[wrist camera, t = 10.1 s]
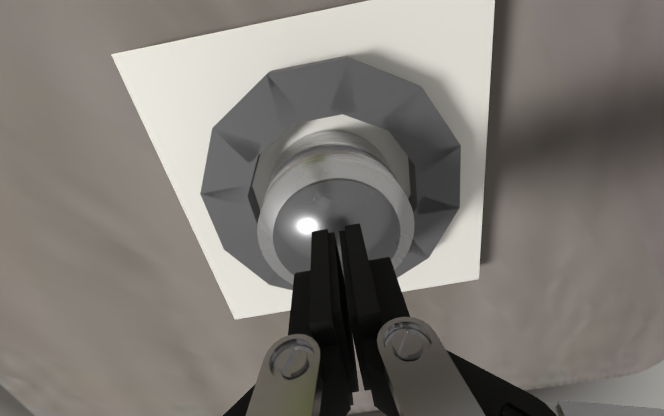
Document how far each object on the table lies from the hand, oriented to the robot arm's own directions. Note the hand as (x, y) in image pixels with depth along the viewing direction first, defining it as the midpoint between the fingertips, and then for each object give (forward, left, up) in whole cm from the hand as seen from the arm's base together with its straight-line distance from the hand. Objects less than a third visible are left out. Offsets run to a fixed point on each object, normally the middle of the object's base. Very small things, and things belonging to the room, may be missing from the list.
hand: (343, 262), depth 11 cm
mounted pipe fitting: (0, 0, -7) cm, 7 cm away
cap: (0, 0, -5) cm, 5 cm away
